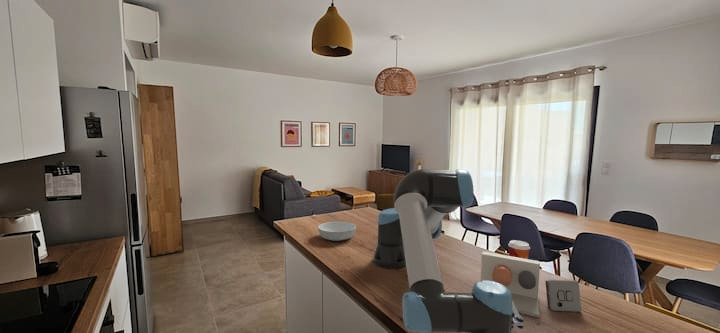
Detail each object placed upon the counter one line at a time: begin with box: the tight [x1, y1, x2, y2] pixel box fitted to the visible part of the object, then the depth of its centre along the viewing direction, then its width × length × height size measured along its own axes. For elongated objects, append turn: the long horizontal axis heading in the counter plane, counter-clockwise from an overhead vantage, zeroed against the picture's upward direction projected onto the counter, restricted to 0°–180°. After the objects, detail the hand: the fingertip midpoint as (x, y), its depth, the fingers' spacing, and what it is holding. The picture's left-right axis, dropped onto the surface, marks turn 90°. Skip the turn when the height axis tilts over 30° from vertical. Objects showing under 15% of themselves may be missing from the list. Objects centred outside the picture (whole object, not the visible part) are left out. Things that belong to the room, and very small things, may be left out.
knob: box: [492, 265, 512, 287], centre depth 107 cm, size 6×13×6 cm, turn 151°
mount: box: [480, 251, 541, 319], centre depth 101 cm, size 18×14×13 cm
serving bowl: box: [317, 221, 357, 242], centre depth 163 cm, size 21×21×7 cm
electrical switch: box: [545, 279, 582, 313], centre depth 97 cm, size 9×5×9 cm, turn 86°
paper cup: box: [507, 239, 531, 269], centre depth 118 cm, size 8×8×14 cm
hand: (500, 289), depth 92 cm, fingers closed
